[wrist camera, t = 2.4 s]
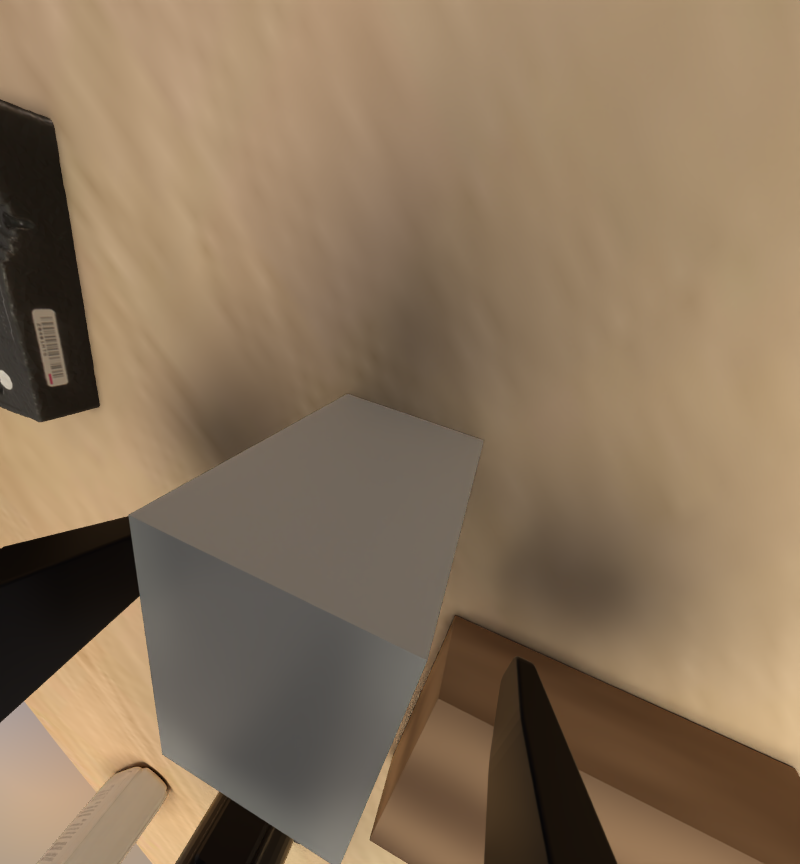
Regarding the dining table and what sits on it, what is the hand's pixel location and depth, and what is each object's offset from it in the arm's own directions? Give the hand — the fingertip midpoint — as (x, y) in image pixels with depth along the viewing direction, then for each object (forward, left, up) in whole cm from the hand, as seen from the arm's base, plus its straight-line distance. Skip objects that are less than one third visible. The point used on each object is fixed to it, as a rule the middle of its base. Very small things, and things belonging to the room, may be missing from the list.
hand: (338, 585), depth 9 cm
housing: (0, 0, -4) cm, 4 cm away
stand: (-9, -9, -4) cm, 13 cm away
